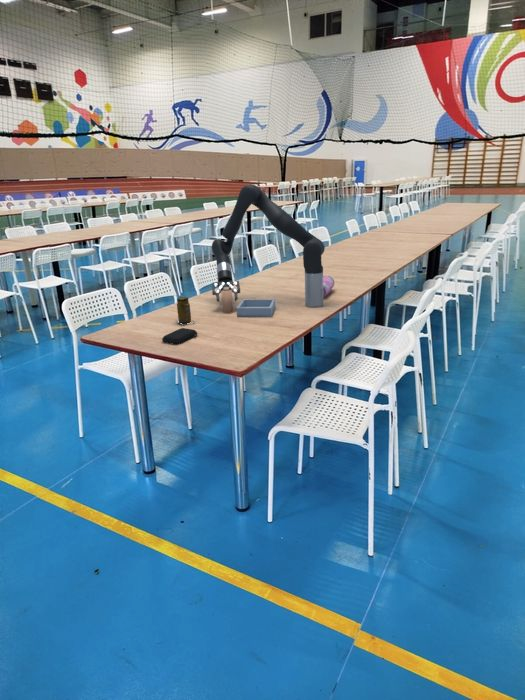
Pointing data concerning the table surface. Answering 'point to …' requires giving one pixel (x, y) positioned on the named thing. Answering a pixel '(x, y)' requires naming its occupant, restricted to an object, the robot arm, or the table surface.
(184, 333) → the carrying case or bag
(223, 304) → the cruet
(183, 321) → the condiment
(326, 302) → the table surface
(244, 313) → the bin
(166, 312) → the table surface
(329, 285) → the pencil case
